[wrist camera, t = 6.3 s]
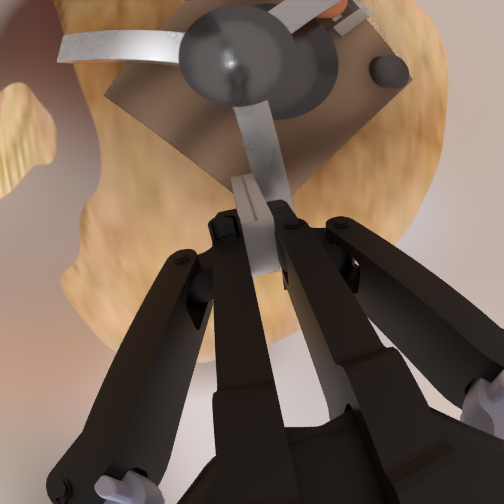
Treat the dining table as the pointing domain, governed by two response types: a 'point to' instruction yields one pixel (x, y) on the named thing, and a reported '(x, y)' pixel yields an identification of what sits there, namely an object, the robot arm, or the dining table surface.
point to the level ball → (334, 10)
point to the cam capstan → (237, 69)
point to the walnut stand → (288, 130)
